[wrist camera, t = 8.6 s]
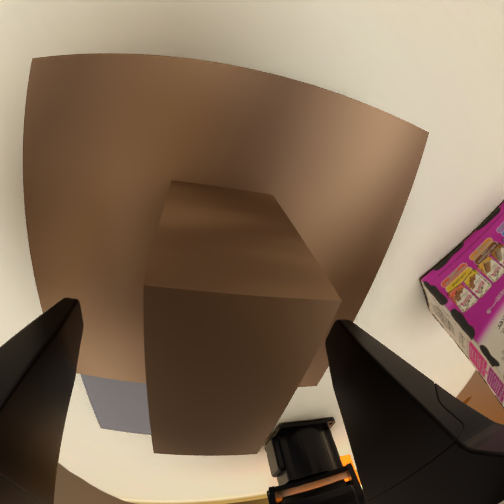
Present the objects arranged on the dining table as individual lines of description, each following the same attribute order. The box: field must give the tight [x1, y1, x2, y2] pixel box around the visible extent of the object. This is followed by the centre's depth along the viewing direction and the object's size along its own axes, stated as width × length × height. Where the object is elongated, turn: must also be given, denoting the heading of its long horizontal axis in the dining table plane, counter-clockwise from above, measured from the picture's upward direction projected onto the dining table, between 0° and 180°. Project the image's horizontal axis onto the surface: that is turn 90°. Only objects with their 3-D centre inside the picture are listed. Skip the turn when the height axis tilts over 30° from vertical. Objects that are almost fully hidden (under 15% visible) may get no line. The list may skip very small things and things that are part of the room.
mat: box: [81, 374, 151, 435], centre depth 21 cm, size 16×16×1 cm
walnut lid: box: [23, 54, 429, 456], centre depth 8 cm, size 13×13×6 cm
